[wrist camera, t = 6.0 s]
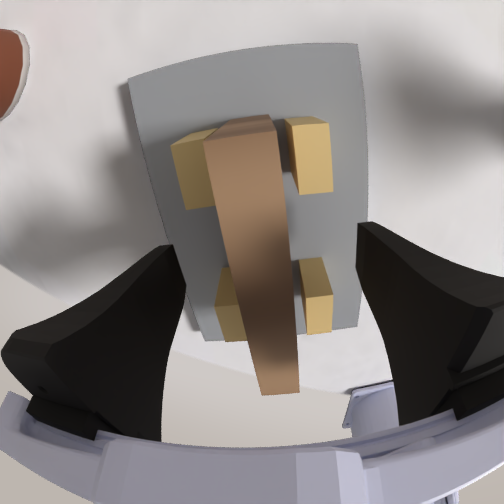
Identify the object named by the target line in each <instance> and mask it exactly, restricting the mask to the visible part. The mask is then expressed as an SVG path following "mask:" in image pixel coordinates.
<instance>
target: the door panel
mask: <svg viewBox="0 0 504 504" xmlns="http://www.w3.org/2000/svg"><path fill="white" fill-rule="evenodd" d="M203 147H204V152H205V157H206V162H207V166H208V171H209V176H210V181H211V186H212V190H213V195H214V200H215V204H216V209H217V213H218V218H219V222H220V227H221V231H222V236H223V240H224V245H225V249H226V253H227V258H228V262H229V266H230V271H231V275H232V279H233V283H234V288H235V292H236V296H237V300H238V304H239V308H240V312H241V316H242V321H243V325H244V329H245V333H246V337H247V341H248V345H249V348H250V352H251V356H252V360H253V364H254V368H255V372H256V376H257V379H258V383H259V387H260V391H261V394H262V395H278V394H290V393H299V392H300V391H299V369H298V350H297V333H296V318H295V303H294V290H293V278H292V266H291V255H290V244H289V234H288V224H287V214H286V205H285V196H284V187H283V178H282V170H281V162H280V154H279V146H278V139H277V131H276V129H275V127H274V124H273V122H272V120H271V118H270V116H269V114H266V115H258V116H250V117H244V118H237V119H231V120H229V121H228V122H227V123H226V124H224V125H223V126H222V127H220V128H219V129H218V130H217V131H215V132H214V133H213V134H212V135H210V136H209V137H208V138H207V139H206V140H204V141H203Z"/></svg>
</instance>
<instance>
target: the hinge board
mask: <svg viewBox="0 0 504 504" xmlns="http://www.w3.org/2000/svg"><path fill="white" fill-rule="evenodd" d="M128 85H129V90H130V95H131V100H132V105H133V110H134V114H135V119H136V124H137V128H138V132H139V137H140V141H141V145H142V149H143V153H144V157H145V161H146V165H147V169H148V173H149V176H150V180H151V184H152V187H153V191H154V194H155V198H156V201H157V205H158V208H159V212H160V215H161V218H162V222H163V225H164V228H165V231H166V234H167V238H168V241H169V244H170V245H171V244H173V246H174V249H175V252H176V255H177V258H178V261H179V264H180V267H181V270H182V273H183V276H184V279H185V282H186V285H187V286H186V293H187V296H188V299H189V301H190V304H191V307H192V309H193V312H194V315H195V317H196V320H197V322H198V325H199V327H200V330H201V333H202V335H203V338H204V340H205V341H225V342H234V341H247V337H246V333H245V329H244V325H243V321H242V316H241V312H240V308H239V304H238V300H237V296H236V292H235V288H234V283H233V279H232V275H231V271H230V266H229V262H228V258H227V253H226V249H225V245H224V240H223V236H222V231H221V227H220V222H219V218H218V213H217V209H216V204H215V200H214V195H213V190H212V186H211V181H210V176H209V171H208V166H207V162H206V157H205V152H204V147H203V141H204V140H206V139H207V138H208V137H209V136H210V135H212V134H213V133H214V132H215V131H217V130H218V129H219V128H220V127H222V126H223V125H224V124H226V123H227V122H228V121H229V120H231V119H237V118H244V117H250V116H258V115H266V114H269V116H270V118H271V120H272V122H273V124H274V127H275V129H276V131H277V139H278V146H279V154H280V162H281V170H282V178H283V187H284V196H285V205H286V214H287V224H288V234H289V244H290V255H291V266H292V278H293V290H294V303H295V318H296V333H297V335H298V334H307V335H312V334H320V333H327V332H332V330H338V329H345V328H351V327H357V324H358V318H359V310H360V303H361V295H362V288H361V285H360V282H359V278H358V275H357V272H356V268H355V263H356V245H357V223H361V222H367V217H368V145H367V126H366V111H365V100H364V89H363V80H362V72H361V65H360V58H359V51H358V45H357V44H349V43H305V44H287V45H275V46H265V47H257V48H249V49H242V50H236V51H230V52H224V53H219V54H214V55H209V56H204V57H200V58H195V59H191V60H187V61H183V62H179V63H176V64H172V65H168V66H165V67H162V68H158V69H155V70H152V71H149V72H146V73H143V74H140V75H137V76H134V77H131V78H129V79H128Z"/></svg>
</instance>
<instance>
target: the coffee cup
mask: <svg viewBox="0 0 504 504" xmlns="http://www.w3.org/2000/svg"><path fill="white" fill-rule="evenodd" d="M29 66H30V55H29V45H28V42H27V40H26V37H25V35H24V34H22V33H20V32H18V31H17V30H5V29H0V120H2V119H3V118H5V117H7V116H8V115H9V114H10V113H11V112H12V110H13V109H14V107H15V106H16V105H17V103H18V102H19V99H20V97H21V94H22V92H23V89H24V87H25V85H26V80H27V75H28V70H29Z"/></svg>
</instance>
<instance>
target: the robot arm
mask: <svg viewBox="0 0 504 504" xmlns="http://www.w3.org/2000/svg"><path fill="white" fill-rule="evenodd" d="M355 268H356V272H357V275H358V278H359V282H360V285H361V288H362V290H363V293H364V295H365V297H366V299H367V302H368V304H369V306H370V308H371V311H372V313H373V315H374V318H375V320H376V322H377V325H378V327H379V329H380V332H381V335H382V338H383V340H384V344H385V348H386V352H387V355H388V359H389V364H390V368H391V373H392V378H393V382H389V383H384V384H380V385H375V386H370V387H365V388H360V389H356V390H354V391H353V392H352V394H351V397H350V401H349V404H348V408H347V412H346V415H345V418H344V422H343V424H342V427H343V428H351V431H352V438H346V439H341V440H335V441H328V442H322V443H313V444H304V445H293V446H279V447H258V448H257V447H256V448H229V447H228V448H225V447H205V446H192V445H181V444H172V443H164V442H161V417H162V399H163V390H164V381H165V373H166V367H167V361H168V356H169V352H170V348H171V345H172V342H173V338H174V335H175V332H176V329H177V325H178V322H179V319H180V316H181V312H182V309H183V305H184V300H185V293H186V286H187V285H186V282H185V279H184V276H183V273H182V270H181V267H180V264H179V261H178V258H177V255H176V252H175V249H174V246H173V244H171V245H163V246H159V247H157V248H155V249H153V250H152V251H151V252H149V253H148V254H146V255H145V256H144V257H143V258H141V259H140V260H139V261H137V262H136V263H135V264H134V265H132V266H131V267H130V268H129V269H127V270H126V271H125V272H123V273H122V274H121V275H119V276H118V277H117V278H115V279H114V280H113V281H112V282H110V283H109V284H108V285H106V286H105V287H103V288H102V289H100V290H99V291H98V292H96V293H94V294H93V295H91V296H90V297H88V298H87V299H85V300H83V301H82V302H80V303H78V304H76V305H74V306H72V307H71V308H69V309H67V310H65V311H63V312H61V313H59V314H57V315H55V316H53V317H51V318H48V319H46V320H44V321H41V322H39V323H36V324H33V325H30V326H27V327H25V328H22V329H19V330H16V331H15V332H14V333H12V335H11V336H10V338H9V339H8V341H7V342H6V344H5V345H4V347H3V349H2V350H1V357H2V360H3V362H4V364H5V365H6V367H7V368H8V369H9V371H10V372H11V373H12V374H13V375H14V376H15V378H16V379H17V380H18V381H19V382H20V383H21V384H22V385H23V386H24V387H25V388H26V389H27V390H28V391H29V392H30V393H31V394H32V395H33V396H32V398H31V400H30V401H29V400H28V399H26V398H25V397H23V396H20V395H18V394H16V393H13V392H11V391H8V393H7V395H6V397H5V399H4V401H3V403H2V405H1V408H0V450H2V451H3V452H5V453H6V454H7V455H9V456H11V457H12V458H13V459H15V460H16V461H18V462H19V463H21V464H22V465H24V466H25V467H27V468H28V469H30V470H31V471H33V472H35V473H36V474H38V475H40V476H41V477H43V478H45V479H47V480H48V481H50V482H52V483H54V484H56V485H58V486H60V487H61V488H64V489H65V490H67V491H70V492H72V493H74V494H76V495H78V496H80V497H82V498H85V499H87V500H89V501H92V502H93V503H94V504H459V494H458V490H460V489H462V488H464V487H466V486H468V485H470V484H471V483H473V482H475V481H477V480H479V479H480V478H482V477H484V476H485V475H487V474H489V473H490V472H492V471H494V470H495V469H497V468H498V467H500V466H502V465H503V464H504V277H499V276H495V275H491V274H487V273H484V272H480V271H477V270H474V269H471V268H468V267H465V266H462V265H459V264H456V263H454V262H451V261H449V260H447V259H444V258H442V257H440V256H437V255H435V254H433V253H431V252H429V251H427V250H425V249H423V248H421V247H419V246H417V245H415V244H414V243H412V242H410V241H408V240H406V239H404V238H403V237H401V236H399V235H397V234H396V233H394V232H392V231H390V230H389V229H387V228H385V227H383V226H381V225H379V224H377V223H375V222H372V221H371V222H361V223H357V245H356V263H355Z"/></svg>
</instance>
